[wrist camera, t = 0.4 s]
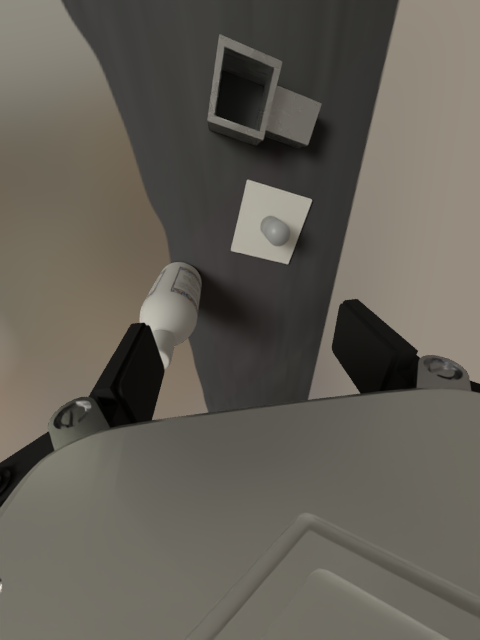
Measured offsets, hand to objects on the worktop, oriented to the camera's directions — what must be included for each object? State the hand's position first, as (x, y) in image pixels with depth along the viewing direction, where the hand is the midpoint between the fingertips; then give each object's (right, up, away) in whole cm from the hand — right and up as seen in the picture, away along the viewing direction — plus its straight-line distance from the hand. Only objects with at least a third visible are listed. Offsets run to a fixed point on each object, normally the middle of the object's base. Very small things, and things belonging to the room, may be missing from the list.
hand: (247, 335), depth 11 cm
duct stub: (+4, +15, +24) cm, 29 cm away
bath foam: (-10, +8, +27) cm, 30 cm away
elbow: (+2, +26, +17) cm, 31 cm away
